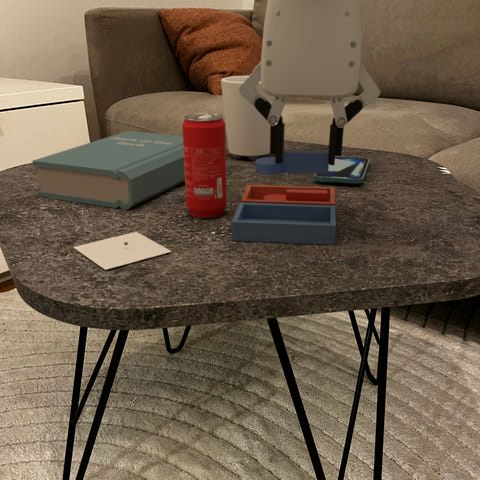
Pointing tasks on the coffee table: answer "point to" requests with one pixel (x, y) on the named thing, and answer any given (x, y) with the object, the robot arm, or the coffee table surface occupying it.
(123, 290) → the coffee table surface
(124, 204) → the book
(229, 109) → the cup
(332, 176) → the smartphone
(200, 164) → the beverage can
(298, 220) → the blue tray
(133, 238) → the coaster
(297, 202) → the red tray
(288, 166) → the blue rounded block
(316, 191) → the red rounded block
